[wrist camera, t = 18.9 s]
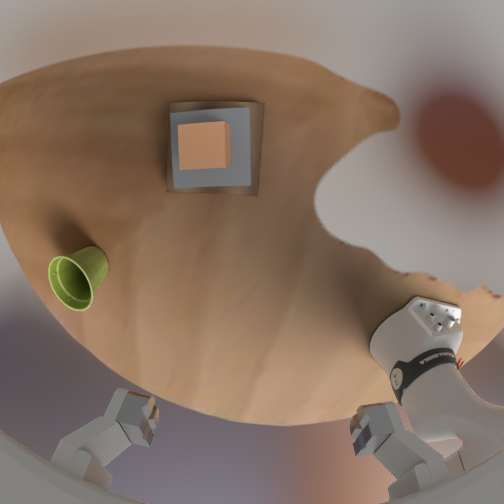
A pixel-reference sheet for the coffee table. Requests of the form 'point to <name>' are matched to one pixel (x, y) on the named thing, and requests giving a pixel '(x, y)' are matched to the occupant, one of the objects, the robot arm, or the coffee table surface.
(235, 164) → the upper tower block
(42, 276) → the coffee table surface
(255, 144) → the lower tower block
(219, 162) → the rust cube
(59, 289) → the plant pot
